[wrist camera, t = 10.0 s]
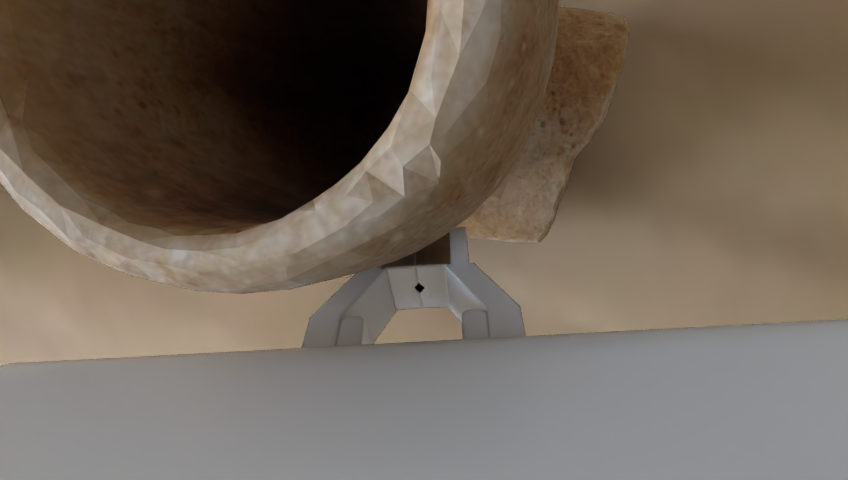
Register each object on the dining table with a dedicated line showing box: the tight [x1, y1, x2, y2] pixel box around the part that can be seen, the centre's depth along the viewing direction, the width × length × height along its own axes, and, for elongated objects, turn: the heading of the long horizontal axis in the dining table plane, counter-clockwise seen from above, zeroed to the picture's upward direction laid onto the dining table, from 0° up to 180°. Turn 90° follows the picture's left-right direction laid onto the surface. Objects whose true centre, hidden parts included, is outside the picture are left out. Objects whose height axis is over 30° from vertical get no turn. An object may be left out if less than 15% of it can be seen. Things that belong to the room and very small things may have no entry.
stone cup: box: [0, 0, 629, 294], centre depth 13 cm, size 15×12×15 cm
